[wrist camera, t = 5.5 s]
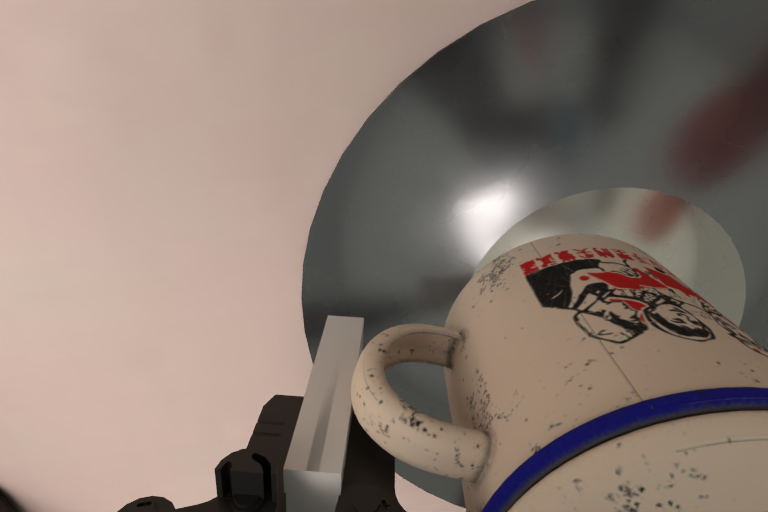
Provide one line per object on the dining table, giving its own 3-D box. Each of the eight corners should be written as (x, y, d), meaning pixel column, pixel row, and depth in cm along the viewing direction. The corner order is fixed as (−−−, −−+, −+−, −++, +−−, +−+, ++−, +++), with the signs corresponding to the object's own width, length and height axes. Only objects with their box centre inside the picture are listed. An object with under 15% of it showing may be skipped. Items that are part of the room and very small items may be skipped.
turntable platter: (294, -43, 14) (293, -44, 13) (1102, -6, 13) (1113, -6, 13) (307, 500, 22) (306, 504, 22) (784, 541, 22) (788, 546, 21)
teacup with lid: (736, 267, 16) (1377, 681, 6) (607, 453, 20) (855, 924, 9) (406, 160, 15) (440, 437, 4) (331, 380, 19) (248, 829, 8)
